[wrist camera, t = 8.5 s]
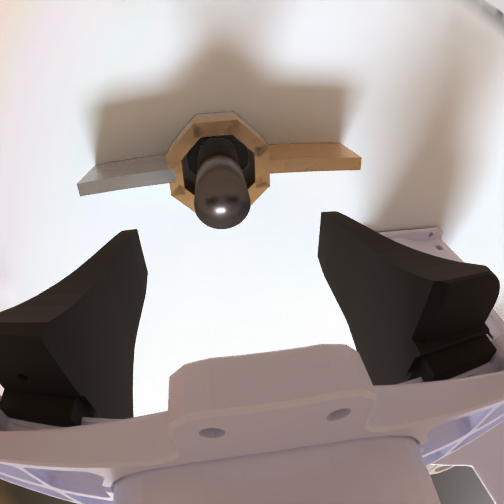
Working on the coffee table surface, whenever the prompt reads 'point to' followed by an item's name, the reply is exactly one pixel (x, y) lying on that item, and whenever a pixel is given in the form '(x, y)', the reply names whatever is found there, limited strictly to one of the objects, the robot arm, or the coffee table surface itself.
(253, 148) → the hinge
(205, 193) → the hinge pin
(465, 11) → the coffee table surface
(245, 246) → the coffee table surface
